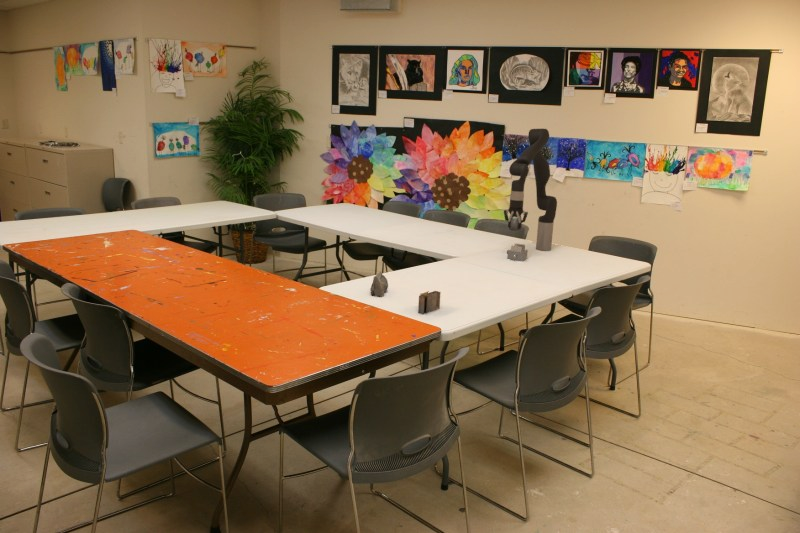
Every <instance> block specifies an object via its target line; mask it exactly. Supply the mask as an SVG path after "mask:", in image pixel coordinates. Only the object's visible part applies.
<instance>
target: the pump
mask: <svg viewBox="0 0 800 533" xmlns="http://www.w3.org/2000/svg"><path fill="white" fill-rule="evenodd" d="M518 223H519V221H518V218H517V217H513V218H512V219H511V225H510V229H509V230H510V231H514V232H516V231H517V232H518V231H519V229H518Z"/></svg>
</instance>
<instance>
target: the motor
mask: <svg viewBox="0 0 800 533" xmlns="http://www.w3.org/2000/svg"><path fill="white" fill-rule="evenodd" d="M506 255H507V258H506V259H510V260H509V261H515V260H516V262H524V261H525V260H526V259H528V249H526V244H522V243H514V245H511V246H510V249H507V250H506Z"/></svg>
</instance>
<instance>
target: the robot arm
mask: <svg viewBox="0 0 800 533" xmlns="http://www.w3.org/2000/svg"><path fill="white" fill-rule="evenodd" d="M527 139H528V144H529V146H528V147H527V148H525V149H524V150H523V151H522V153H521V154H520V156H519V157H518V158H516V159H515V160H514V161H513V162H512V163H511V164H510V166H509V170H508V171H509V174H510V175H511V176H513V177H519V179H515V180H512V181H511V186H510V187H511V189H510V196H509V207H508V209H504V210H503V215H504V220H505V221H506V222H508V223H507V228H508V229H509V230H510V225H511V219H512V218H518V221H519V223H518V229H519V230H521V229H522V223H525V222H526V220H527V217H528V214H529V212H528V211H525V210H524V198H525V184H526V180H527V178H528V175H529V170H530V169H529V168H530V167H529V166H530V164H531V163H532V164H533V173H534V179H535V188H536V190H535V191H536V205H537V208H538V210H540V211H545V213H544V214H543V215H540V216H538V220H537V222H538V223H537V230H536V231H537V233H536V243H535V249H536V250H538V251H545V250H548V251H551V250H552V240H553V231H554V221H555V218H556V214H557V209H558V208H557V207H558V201H557V197H555V196H552V195H547V191H546V187H547V184H548V182H549V180H550V177H551V169H550V164H549V162H548V160H547V159H546V158H545V156H544V155H543V154H542V153H541V150H542V149H543V148H544V147H545V146H546V145H547V143H548V141H549V140H550V132H549V130H548V129H547V128H531V129H529V131H528V138H527ZM508 214H510V215H508ZM522 214H523V218H522ZM519 230H518V231H519Z"/></svg>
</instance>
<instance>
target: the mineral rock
mask: <svg viewBox="0 0 800 533" xmlns="http://www.w3.org/2000/svg"><path fill="white" fill-rule="evenodd" d="M388 289H389V282H388V279H387V277H386V276H385V275H383V272H381V271H379V272H378V273H377V274H375V276H374V277H373V280H372V283H371V286H370V289H369V290H370V292H371V293H370V294H371V296H373V297H384V295H385V293H386V291H387V290H388Z"/></svg>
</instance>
